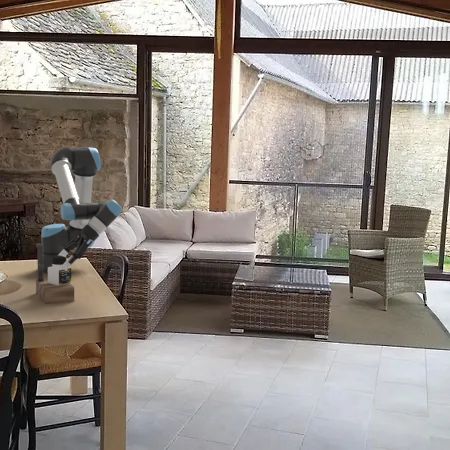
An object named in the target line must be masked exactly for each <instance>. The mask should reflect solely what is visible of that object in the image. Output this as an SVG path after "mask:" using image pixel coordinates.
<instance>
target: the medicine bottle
mask: <svg viewBox="0 0 450 450" xmlns="http://www.w3.org/2000/svg"><path fill="white" fill-rule="evenodd" d="M67 260H68V259H67V255H66V256H63V255H57V256H54V257H52V267H48V272H47V279H48V283H49V284H54V285H58V286H60V285H64V284H68V283H70V284H71V283H72V267H71V266H70V267H69V268H68V269H67V270H66V271H65V270H64V269H63V268H62V267H61V266H62V265H63V264H64V263H65V262H66V261H67Z"/></svg>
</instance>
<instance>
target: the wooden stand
mask: <svg viewBox="0 0 450 450" xmlns="http://www.w3.org/2000/svg"><path fill="white" fill-rule="evenodd" d="M35 246H36V249H37V252H36V253H37V254H36V255H37V279H36V281H35V292H36V293H35V294H36V295H37V296H38V298H40V299H41V301H42V302H44V303H45V304H47V305H48V304H56V303H57V304H58V303H64V302H65V303H66V302H67V303H68V302H75V286H74V285H72V284H71V283H68V284H64V285H60V286H58V285H54V284H49V283H48V278H44V272H43V245H42V243H36V244H35Z"/></svg>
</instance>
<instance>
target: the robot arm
mask: <svg viewBox="0 0 450 450" xmlns="http://www.w3.org/2000/svg"><path fill="white" fill-rule="evenodd" d="M101 162H102V161H101V156H100V153H99V151H98V149H97V148H95V147H89V146H64V147H61V148H58V150H56V151H55V153H54V154H53V155H52V157H51V160H50V170H51V173H52V174H53V175H54V176H55V180H56V183H57V186H58V190H59V193H60V197H61V199H62V204H61V205H60V217H61V219H62V220H64V221H69V223H68V224H69V226H66V224H64V223H53V224H48V225H46V226H45V225H44V226H43V227H42V228H41V235H40V236H41V244H42V245H43V273H48V267H52V257H54V256H57V255H63V256H66V257H67V255H68V254H70V253H71V252H72V251H73V250H74V249H75V250H74V253H73V252H72V253H71V255H70V256H69V257H68V259H67V261H66V262H65V263H64V264H63V265H62V266H61V267H62V268H63V269H64V270H65V271H66V270H67V269H68V268H69V267H71V266H73V264H74V263H75V262H76V261H77V260H80V259H82V257H83V256H84V254H85V253H86V251H87V249H90V248H91V247H93V245H94V243H95V241H96V240H97V239H98V238H99V237H100V235H101V234H102V233H103V232H106V229H107V228H108V227H109V226H110V225H111V224H112V223H113V222H114V221H115V220H116V219H117V218H118V217H119V216H120V215H121V213H122V212H123V208H122V206H121V205H120V204H119V202H117V201H116V200H114V199H109V200H108V201H107V202H104V201H97V202H92V194H93V178H94V177H96V175H97V172H99V171H100V170H101V167H102V163H101ZM73 176H74V177H75V179H74V178H73Z"/></svg>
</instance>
